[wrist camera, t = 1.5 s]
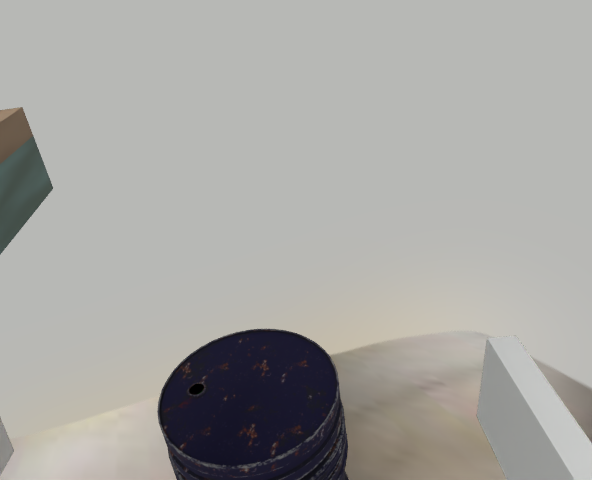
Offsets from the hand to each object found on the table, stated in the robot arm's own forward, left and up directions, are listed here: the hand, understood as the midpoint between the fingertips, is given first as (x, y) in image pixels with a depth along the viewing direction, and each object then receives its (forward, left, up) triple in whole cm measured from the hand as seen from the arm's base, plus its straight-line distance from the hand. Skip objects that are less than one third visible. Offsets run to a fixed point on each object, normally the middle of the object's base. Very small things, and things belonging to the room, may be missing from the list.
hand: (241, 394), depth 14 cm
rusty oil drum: (+1, -10, -25) cm, 27 cm away
